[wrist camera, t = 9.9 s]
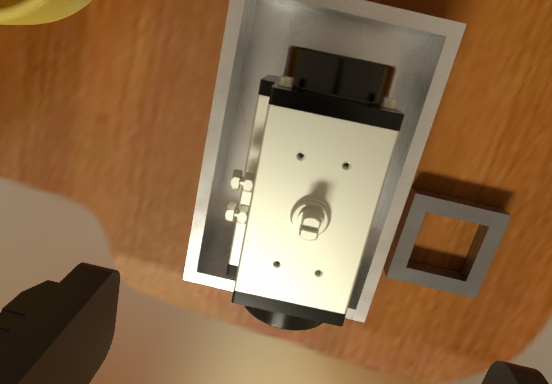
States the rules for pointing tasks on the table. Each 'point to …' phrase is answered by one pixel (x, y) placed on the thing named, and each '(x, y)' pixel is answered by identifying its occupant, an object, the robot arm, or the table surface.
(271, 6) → the seat cradle
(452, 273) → the gray square frame
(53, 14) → the plant pot
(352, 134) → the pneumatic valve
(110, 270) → the robot arm
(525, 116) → the table surface
